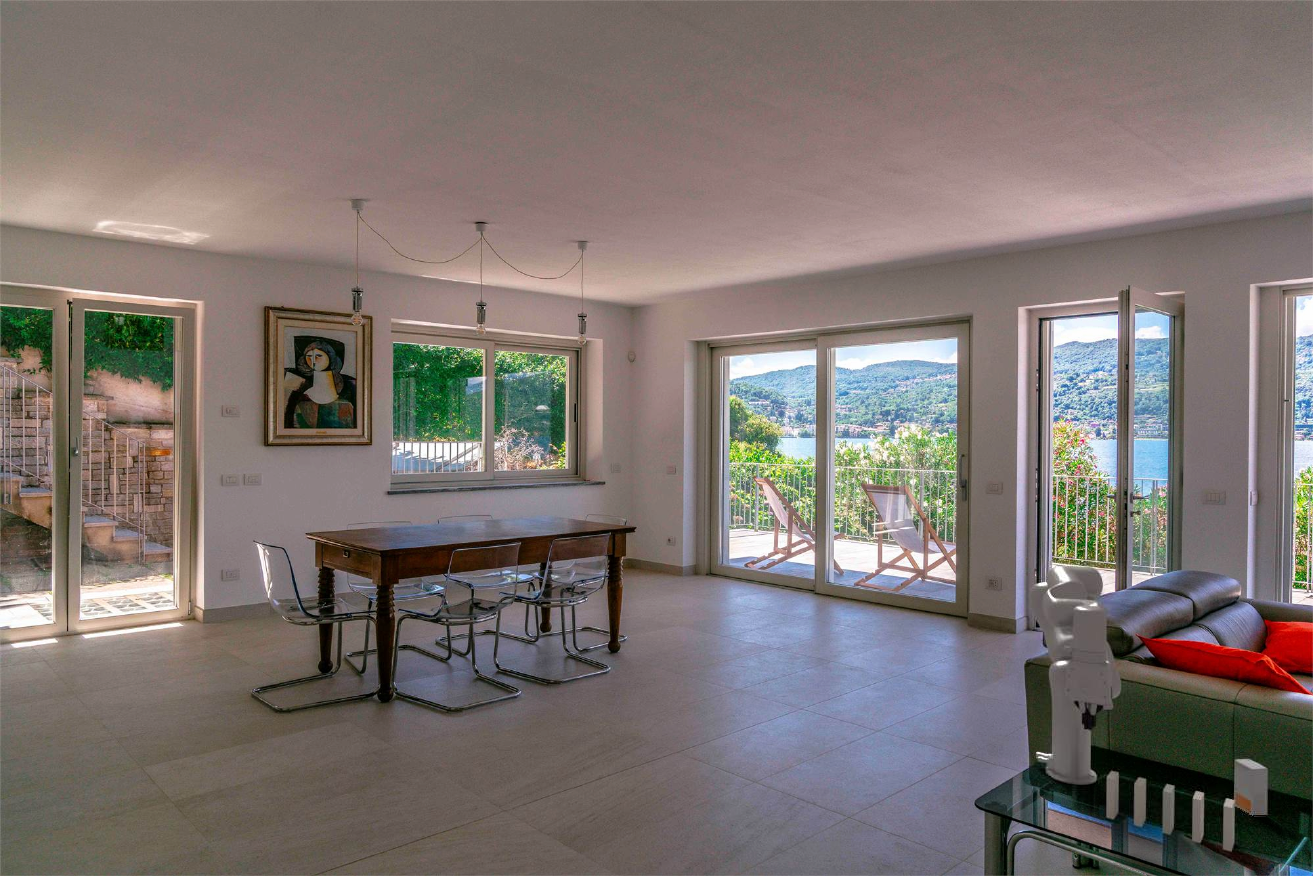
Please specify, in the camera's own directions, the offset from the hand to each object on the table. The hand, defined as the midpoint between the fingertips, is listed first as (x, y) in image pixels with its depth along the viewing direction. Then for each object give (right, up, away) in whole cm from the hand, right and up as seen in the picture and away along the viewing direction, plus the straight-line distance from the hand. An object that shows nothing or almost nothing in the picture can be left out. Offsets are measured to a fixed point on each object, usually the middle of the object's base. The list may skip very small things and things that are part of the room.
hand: (1088, 728), depth 212 cm
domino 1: (+4, -21, -3) cm, 21 cm away
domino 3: (+13, -21, -11) cm, 27 cm away
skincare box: (+40, -20, -1) cm, 45 cm away
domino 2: (+9, -21, -7) cm, 23 cm away
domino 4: (+18, -21, -14) cm, 31 cm away
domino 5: (+23, -21, -18) cm, 36 cm away
